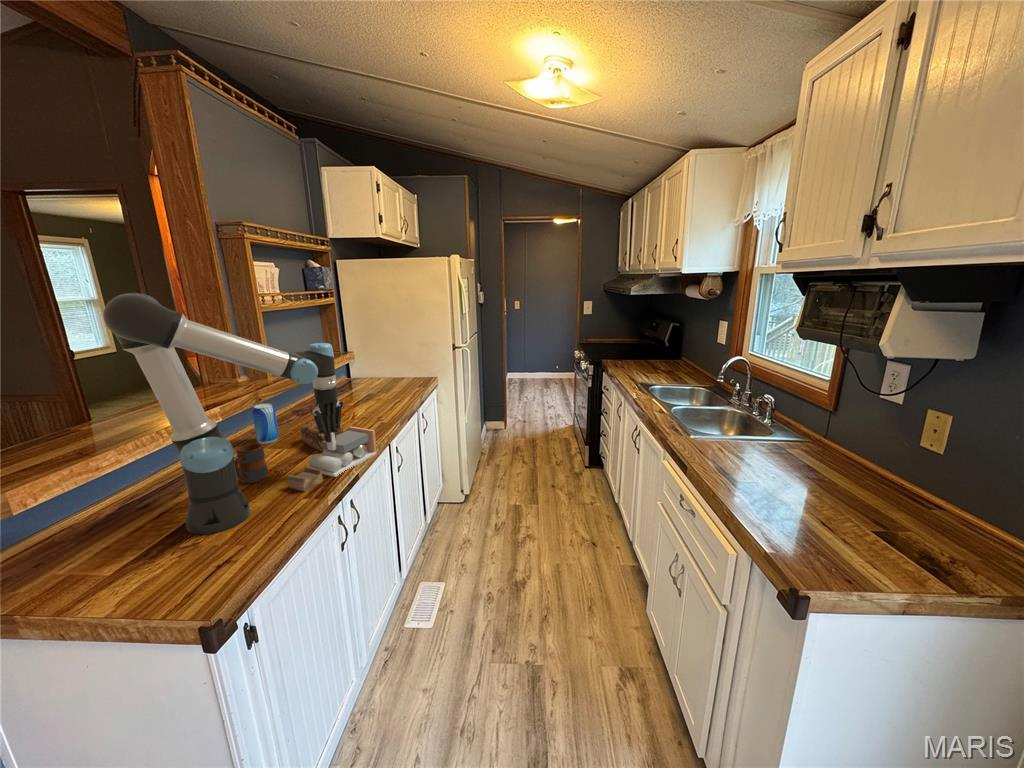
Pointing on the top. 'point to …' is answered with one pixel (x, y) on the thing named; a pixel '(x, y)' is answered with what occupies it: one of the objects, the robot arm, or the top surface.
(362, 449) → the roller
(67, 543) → the top surface
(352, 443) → the slab
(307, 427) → the bread
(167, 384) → the robot arm
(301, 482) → the rack
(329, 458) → the roller bed
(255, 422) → the beer can
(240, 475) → the mug
